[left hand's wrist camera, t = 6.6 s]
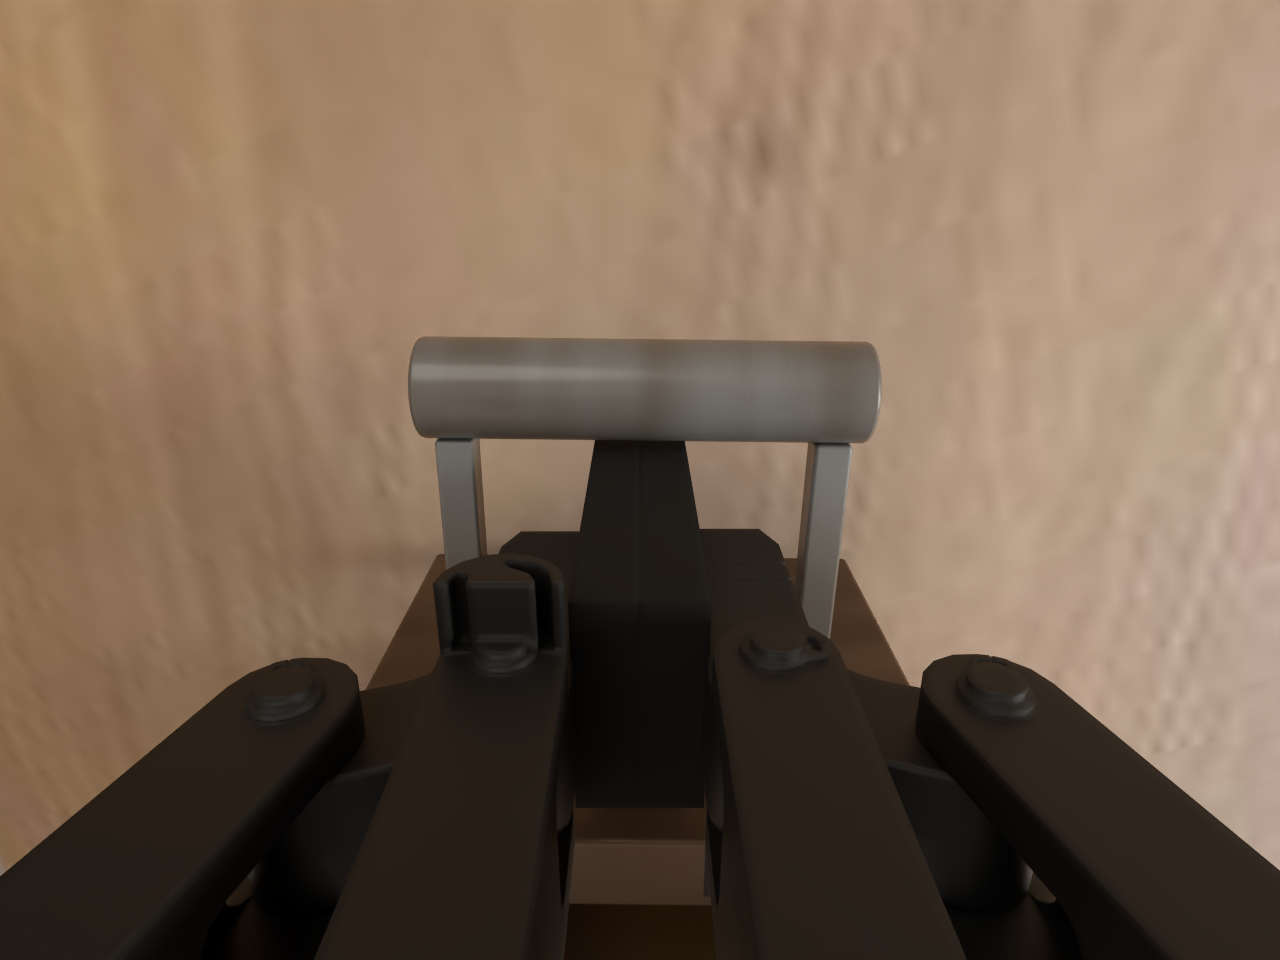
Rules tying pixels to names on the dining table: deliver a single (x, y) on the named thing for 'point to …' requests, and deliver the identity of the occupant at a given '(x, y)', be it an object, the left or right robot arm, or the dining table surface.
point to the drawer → (647, 411)
